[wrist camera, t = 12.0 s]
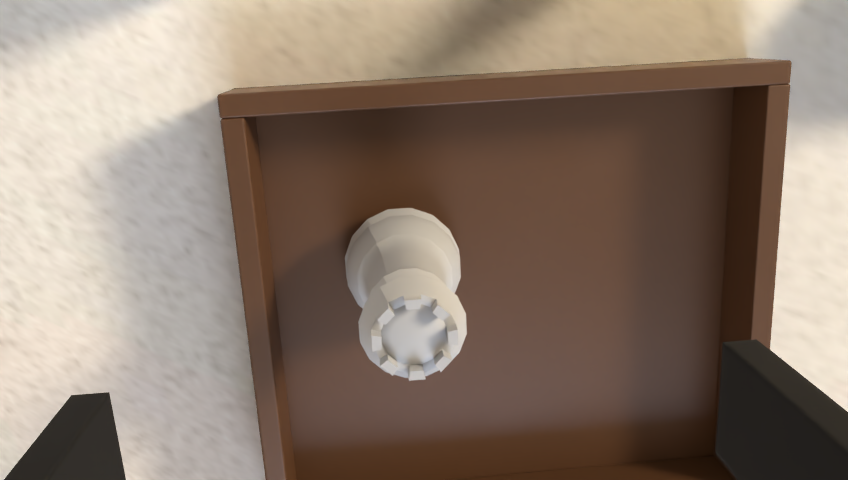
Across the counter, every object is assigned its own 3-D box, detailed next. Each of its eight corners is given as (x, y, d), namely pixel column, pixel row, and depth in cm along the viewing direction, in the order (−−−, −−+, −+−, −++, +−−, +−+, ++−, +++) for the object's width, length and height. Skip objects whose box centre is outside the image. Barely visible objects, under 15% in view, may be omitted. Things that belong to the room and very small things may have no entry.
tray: (233, 88, 27) (216, 94, 24) (748, 58, 28) (792, 60, 25) (282, 501, 32) (273, 549, 29) (723, 462, 33) (758, 504, 30)
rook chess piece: (321, 250, 29) (304, 328, 21) (414, 181, 28) (431, 234, 20) (391, 335, 30) (399, 439, 22) (481, 269, 29) (522, 352, 22)
